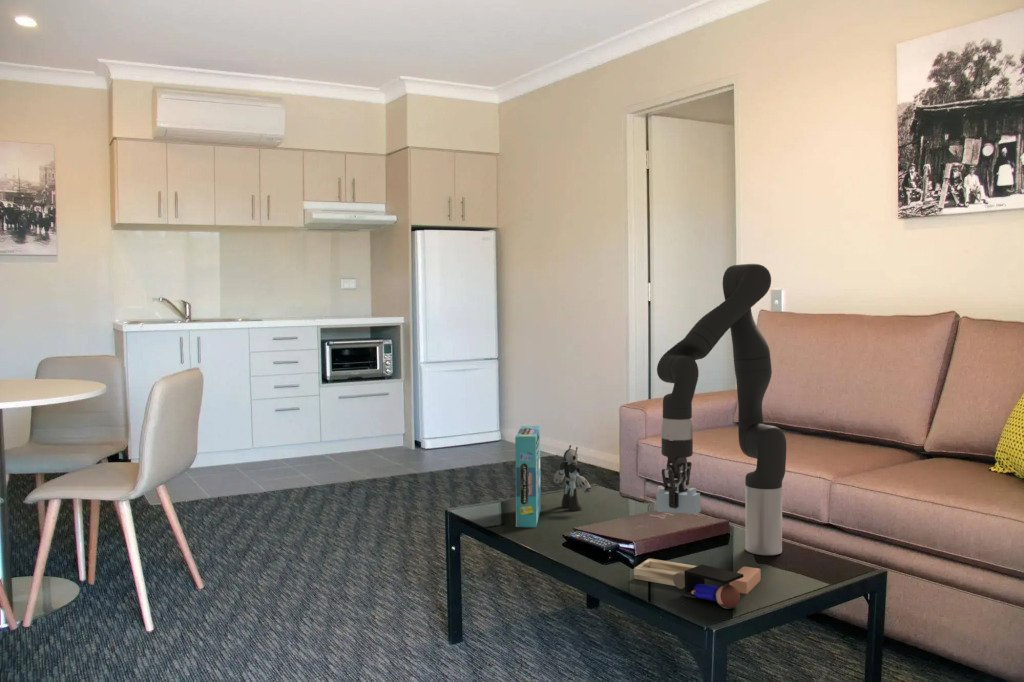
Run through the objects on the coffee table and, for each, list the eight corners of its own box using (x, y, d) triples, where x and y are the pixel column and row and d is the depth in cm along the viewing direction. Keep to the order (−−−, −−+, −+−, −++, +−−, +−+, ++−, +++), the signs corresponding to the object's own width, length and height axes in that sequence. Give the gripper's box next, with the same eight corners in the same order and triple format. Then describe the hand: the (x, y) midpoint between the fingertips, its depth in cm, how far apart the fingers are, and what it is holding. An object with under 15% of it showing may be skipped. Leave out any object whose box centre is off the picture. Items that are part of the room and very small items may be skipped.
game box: (521, 510, 267) (520, 425, 266) (541, 510, 267) (540, 425, 266) (515, 527, 247) (514, 436, 246) (537, 527, 246) (535, 436, 245)
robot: (548, 503, 277) (548, 442, 276) (561, 501, 279) (560, 441, 278) (582, 515, 260) (581, 451, 259) (595, 513, 262) (594, 449, 261)
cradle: (649, 568, 207) (649, 558, 207) (704, 577, 200) (704, 567, 199) (634, 578, 200) (634, 568, 199) (690, 588, 192) (690, 577, 192)
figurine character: (672, 602, 187) (728, 614, 176) (669, 568, 188) (725, 577, 176) (692, 595, 192) (748, 606, 180) (689, 562, 192) (744, 570, 180)
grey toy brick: (662, 508, 210) (661, 485, 210) (701, 511, 205) (699, 486, 205) (657, 511, 207) (655, 487, 207) (695, 514, 202) (694, 489, 202)
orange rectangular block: (743, 578, 200) (743, 566, 199) (760, 581, 197) (760, 568, 197) (729, 592, 190) (729, 579, 190) (746, 595, 188) (746, 582, 188)
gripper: (673, 431, 214) (673, 498, 214) (651, 438, 202) (650, 510, 202) (702, 433, 209) (701, 502, 210) (680, 441, 198) (680, 514, 198)
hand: (676, 505), depth 206 cm, fingers closed on grey toy brick, 3 cm apart
